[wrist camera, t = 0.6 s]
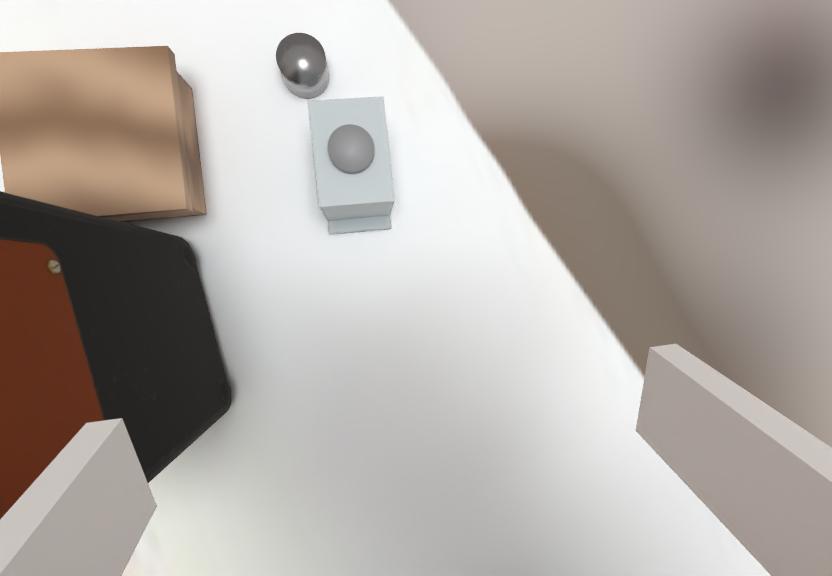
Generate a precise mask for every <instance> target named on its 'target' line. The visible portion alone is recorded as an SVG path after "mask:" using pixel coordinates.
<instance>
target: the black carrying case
mask: <svg viewBox="0 0 832 576" xmlns="http://www.w3.org/2000/svg"><path fill="white" fill-rule="evenodd" d="M230 394H231V390H230V386H229V384H228V382H227V380H226V376H225V373H224V369H223V365H222V361H221V358H220V354H219V350H218V347H217V343H216V339H215V336H214V332H213V328H212V324H211V321H210V317H209V313H208V310H207V306H206V302H205V299H204V295H203V291H202V287H201V284H200V280H199V276H198V273H197V269H196V265H195V257H194V254H193V252H192V250H191V248H190V246H189V244H188V243H187V242H186V241H185V240H184V239H183V238H181V237H178V236H174V235H170V234H167V233H163V232H159V231H155V230H151V229H147V228H143V227H139V226H135V225H131V224H127V223H123V222H119V221H115V220H111V219H107V218H103V217H99V216H96V215H92V214H88V213H84V212H80V211H76V210H72V209H68V208H64V207H60V206H56V205H52V204H48V203H44V202H40V201H36V200H32V199H28V198H24V197H21V196H17V195H13V194H9V193H5V192H1V191H0V519H1V518H2V517H3V516H4V515H5V514H6V513H7V512H8V510H9V509H10V508H11V507H12V506H13V505H14V504H15V503H16V501H17V500H18V499H19V498H20V497H21V496H22V495H23V494H24V492H25V491H26V490H27V489H28V488H29V487H30V486H31V485H32V483H33V482H34V481H35V480H36V479H37V478H38V477H39V476H40V474H41V473H42V472H43V471H44V470H45V469H46V468H47V467H48V465H49V464H50V463H51V462H52V461H53V460H54V459H55V458H56V456H57V455H58V454H59V453H60V452H61V451H62V450H63V449H64V447H65V446H66V445H67V444H68V443H69V442H70V441H71V440H72V438H73V437H74V436H75V435H76V434H77V433H78V432H79V431H80V430H81V428H82V427H83V426H84V425H85V424H86V423H90V422H97V421H105V420H112V419H119V418H122V419H123V421H124V424H125V427H126V429H127V432H128V434H129V437H130V439H131V442H132V444H133V447H134V449H135V452H136V455H137V457H138V460H139V462H140V465H141V467H142V470H143V472H144V475H145V478H146V480H147V483H149V482H150V481H151V480H152V479H153V478H154V477H155V476H157V475H158V474H159V473H160V472H161V471H162V470H163V469H164V468H165V467H166V466H168V465H169V464H170V463H171V462H172V461H173V460H174V459H175V458H176V457H177V456H179V455H180V454H181V453H182V452H183V451H184V450H185V449H186V448H187V447H188V446H190V445H191V444H192V443H193V442H194V441H195V440H196V439H197V438H198V437H199V436H201V435H202V434H203V433H204V432H205V431H206V430H207V429H208V428H209V427H210V426H212V425H213V424H214V423H215V422H216V421H217V420H218V419H219V418H220V417H221V416H223V415H224V414H225V413H226V412H227V411H228V409H229V407H230V404H231V395H230Z"/></svg>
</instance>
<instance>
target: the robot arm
mask: <svg viewBox="0 0 832 576" xmlns="http://www.w3.org/2000/svg"><path fill="white" fill-rule="evenodd" d="M636 431H637V433H638V434H639V435H640V436H641V437H642V438H643V439H644V440H645V441H646V442H647V443H648V444H649V445H650V446H651V448H652V449H653V450H654V451H655V452H656V453H657V454H658V455H659V456H660V457H661V458H662V459H663V460H664V461H665V462H666V464H667V465H668V466H669V467H670V468H671V469H672V470H673V471H674V472H675V473H676V474H677V475H678V476H679V477H680V479H681V480H682V481H683V482H684V483H685V484H686V485H687V486H688V487H689V488H690V489H691V490H692V491H693V492H694V493H695V495H696V496H697V497H698V498H699V499H700V500H701V501H702V502H703V503H704V504H705V505H706V506H707V507H708V508H709V509H710V511H711V512H712V513H713V514H714V515H715V516H716V517H717V518H718V519H719V520H720V521H721V522H722V523H723V524H724V526H725V527H726V528H727V529H728V530H729V531H730V532H731V533H732V534H733V535H734V536H735V537H736V538H737V539H738V540H739V542H740V543H741V544H742V545H743V546H744V547H745V548H746V549H747V550H748V551H749V552H750V553H751V554H752V555H753V557H754V558H755V559H756V560H757V561H758V562H759V563H760V564H761V565H762V566H763V567H764V568H765V569H766V570H767V571H768V573H769V574H770V575H771V576H832V448H831V447H830V446H828V445H827V444H825V443H823V442H822V441H821V440H819V439H818V438H816V437H815V436H813V435H812V434H810V433H809V432H807V431H806V430H804V429H803V428H801V427H800V426H798V425H797V424H795V423H794V422H792V421H791V420H789V419H788V418H786V417H784V416H783V415H782V414H780V413H779V412H777V411H776V410H774V409H773V408H771V407H770V406H768V405H767V404H765V403H764V402H762V401H761V400H759V399H758V398H756V397H755V396H753V395H752V394H750V393H749V392H747V391H746V390H744V389H743V388H741V387H740V386H738V385H737V384H735V383H734V382H732V381H731V380H729V379H728V378H726V377H725V376H723V375H722V374H720V373H719V372H717V371H716V370H714V369H713V368H711V367H710V366H709V365H707V364H706V363H704V362H702V361H701V360H699V359H698V358H697V357H695V356H693V355H692V354H690V353H689V352H688V351H686V350H685V349H683V348H682V347H680V346H679V345H677V344H672V345H664V346H656V347H650V349H649V355H648V361H647V367H646V373H645V378H644V384H643V390H642V396H641V402H640V408H639V414H638V420H637V426H636ZM156 507H157V506H156V503H155V500H154V498H153V495H152V493H151V490H150V488H149V485H148V483H147V480H146V478H145V475H144V472H143V470H142V467H141V465H140V462H139V460H138V457H137V455H136V452H135V449H134V447H133V444H132V442H131V439H130V437H129V434H128V432H127V429H126V427H125V424H124V421H123V419H122V418H119V419H112V420H105V421H97V422H90V423H86V424H85V425H84V426H83V427H82V428H81V430H80V431H79V432H78V433H77V434H76V435H75V436H74V437H73V438H72V440H71V441H70V442H69V443H68V444H67V445H66V446H65V447H64V449H63V450H62V451H61V452H60V453H59V454H58V455H57V456H56V458H55V459H54V460H53V461H52V462H51V463H50V464H49V465H48V467H47V468H46V469H45V470H44V471H43V472H42V473H41V474H40V476H39V477H38V478H37V479H36V480H35V481H34V482H33V483H32V485H31V486H30V487H29V488H28V489H27V490H26V491H25V492H24V494H23V495H22V496H21V497H20V498H19V499H18V500H17V501H16V503H15V504H14V505H13V506H12V507H11V508H10V509H9V510H8V512H7V513H6V514H5V515H4V516H3V517H2V518H1V519H0V576H121V575H122V573H123V571H124V569H125V567H126V565H127V564H128V562H129V560H130V558H131V556H132V554H133V552H134V550H135V548H136V546H137V544H138V542H139V540H140V538H141V536H142V534H143V532H144V530H145V528H146V526H147V524H148V522H149V520H150V518H151V516H152V515H153V513H154V511H155V509H156Z"/></svg>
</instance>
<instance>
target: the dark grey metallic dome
mask: <svg viewBox="0 0 832 576" xmlns="http://www.w3.org/2000/svg"><path fill="white" fill-rule="evenodd" d="M276 60H277V64H278V66H279V69H280V71H281V74H282V76H283V79H284V81H285V83H286V86H287V87H288V89H289V90H290V91H291V92H292V93H293V94H294V95H296V96H298V97H300V98H305V99H311V98H315V97H317V96H319V95H321V94H322V93H323V92H324V91H325V89H326V88H327V86H328V82H329V73H328V68H327V63H326V57H325V52H324V49H323V47H322V45H321V44H320V43H319V41H318V40H316V39H315V38H314V37H312V36H310V35H308V34H305V33H294V34H290V35H288V36H286V37H285V38H284V39H283V40H282V41H281V42H280V43H279V45H278V48H277V51H276Z"/></svg>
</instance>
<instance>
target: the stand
mask: <svg viewBox="0 0 832 576" xmlns="http://www.w3.org/2000/svg"><path fill="white" fill-rule="evenodd" d="M0 155H1V163H2V171H3V179H4V187H5V193H9V194H13V195H17V196H21V197H24V198H28V199H32V200H36V201H40V202H44V203H48V204H52V205H56V206H60V207H64V208H68V209H72V210H76V211H80V212H84V213H88V214H92V215H96V216H99V217H103V218H107V219H111V220H115V221H131V220H143V219H155V218H167V217H179V216H191V215H203V214H206V207H205V198H204V190H203V181H202V173H201V164H200V155H199V147H198V138H197V130H196V121H195V112H194V104H193V95H192V88H191V87H190V86H189V85H188V84H187V83H186V81H185V80H184V79H183V78H182V77H181V76H180V75H179V74H178V72H177V71H176V64H175V55H174V53H173V52H172V51H171V49H170V48H169V47H168V46H153V47H127V48H102V49H76V50H51V51H25V52H0Z"/></svg>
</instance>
